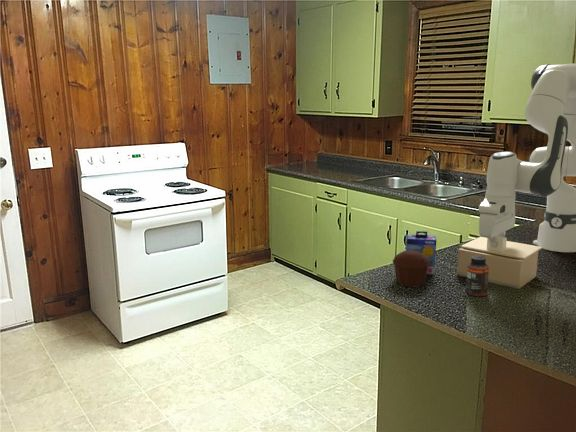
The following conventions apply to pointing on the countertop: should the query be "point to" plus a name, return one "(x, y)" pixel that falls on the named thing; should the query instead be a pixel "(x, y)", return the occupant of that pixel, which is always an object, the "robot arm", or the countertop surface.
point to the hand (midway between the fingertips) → (496, 245)
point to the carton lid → (503, 247)
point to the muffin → (411, 268)
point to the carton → (501, 267)
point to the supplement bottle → (477, 276)
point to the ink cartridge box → (423, 247)
